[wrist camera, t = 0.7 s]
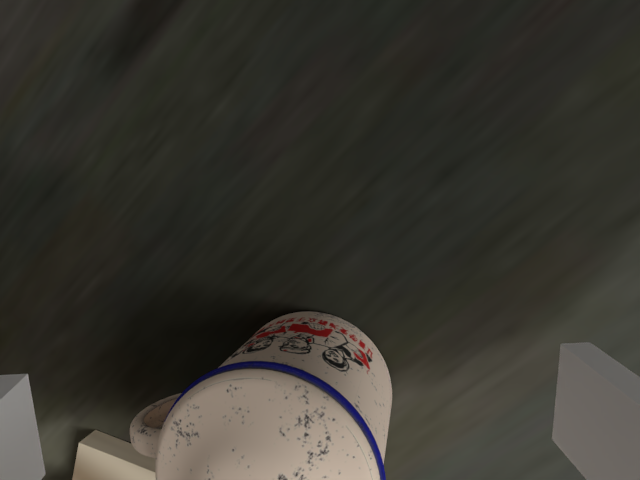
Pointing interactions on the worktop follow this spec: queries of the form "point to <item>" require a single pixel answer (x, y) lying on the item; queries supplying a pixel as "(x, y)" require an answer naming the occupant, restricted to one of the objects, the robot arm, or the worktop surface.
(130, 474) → the cradle board
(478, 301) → the worktop surface
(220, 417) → the teacup with lid
